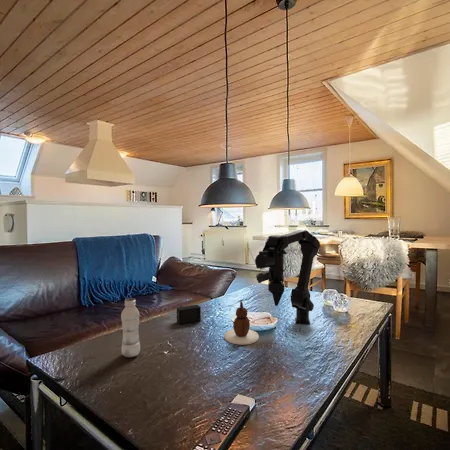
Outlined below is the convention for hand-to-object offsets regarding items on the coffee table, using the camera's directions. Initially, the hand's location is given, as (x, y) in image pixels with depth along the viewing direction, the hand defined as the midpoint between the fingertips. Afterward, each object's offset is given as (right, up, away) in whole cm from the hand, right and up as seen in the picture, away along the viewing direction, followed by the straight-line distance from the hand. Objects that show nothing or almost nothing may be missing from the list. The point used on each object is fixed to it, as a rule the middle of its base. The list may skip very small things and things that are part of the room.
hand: (276, 302), depth 125 cm
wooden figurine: (-15, -13, -4) cm, 20 cm away
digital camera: (-39, -13, +14) cm, 43 cm away
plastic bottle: (-55, -14, -19) cm, 60 cm away
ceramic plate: (-15, -13, -4) cm, 20 cm away
